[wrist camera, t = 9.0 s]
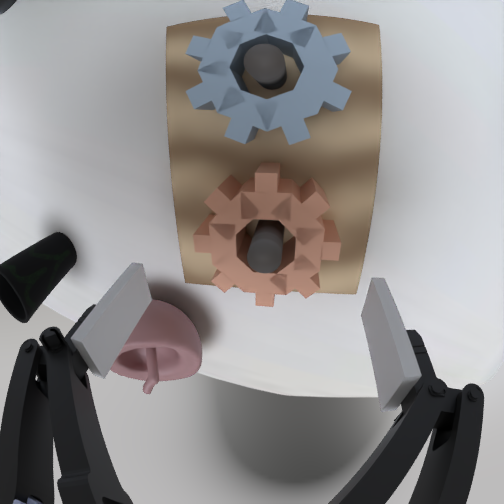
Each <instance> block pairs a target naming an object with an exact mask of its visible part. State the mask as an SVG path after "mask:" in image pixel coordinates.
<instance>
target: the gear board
mask: <svg viewBox="0 0 504 504" xmlns="http://www.w3.org/2000/svg"><path fill="white" fill-rule="evenodd" d="M228 22H230V20H229V18H228V16H227V17H219V18H211V19H204V20H198V21H192V22H187V23H182V24H177V25H173V26H168V27H167V33H166V100H167V124H168V141H169V155H170V168H171V179H172V189H173V198H174V207H175V216H176V224H177V232H178V239H179V246H180V253H181V259H182V266H183V272H184V278H185V283H192V284H203V285H214V286H216V285H215V284H214V283H212V282H211V280H212V278H213V276H214V274H215V272H216V270H217V268H216V267H215V266H214V265H212V256H211V253H199V252H195V249H194V241H193V234H194V233H195V232H196V230H197V229H198V228H199V227H200V225H201V224H202V223H203V222H204V220H205V219H206V218H207V217H208V215H209V214H214V215H215V214H216V213H215V212H214V211H213V210H212V209H210V208H209V207H208V206H207V205H206V204H205V203H204V201H205V200H206V199H207V198H208V197H209V196H210V195H211V194H212V193H213V192H214V191H215V190H216V189H217V188H218V187H219V186H220V185H221V184H222V183H223V182H224V181H225V180H226V179H227V178H228V177H229V176H230V175H232V176H233V177H234V178H235V179H236V180H237V181H238V182H239V183H240V184H241V185H243V184H244V183H245V182H246V181H247V180H248V179H249V178H255V172H256V170H257V169H258V167H259V166H260V164H261V163H262V162H274V163H280V178H281V179H292V180H293V181H294V182H295V183H296V184H297V185H298V186H299V187H301V186H302V185H304V184H305V183H306V182H307V181H308V180H309V179H310V178H313V179H314V180H315V181H316V182H317V183H318V184H319V186H320V187H321V188H322V189H323V190H324V192H325V195H326V197H327V200H328V202H329V205H330V208H329V209H328V210H327V211H325V212H324V213H323V214H322V215H321V216H322V219H323V220H334V223H335V226H336V229H337V232H338V235H339V237H340V240H341V248H340V255H339V261H334V260H321V265H320V271H319V272H318V274H319V282H320V289H319V290H318V291H316V292H315V293H334V294H356V293H357V289H358V285H359V280H360V276H361V271H362V267H363V262H364V257H365V252H366V247H367V242H368V236H369V231H370V225H371V219H372V212H373V206H374V198H375V191H376V183H377V174H378V164H379V153H380V139H381V120H382V60H381V42H380V30H379V25H377V24H373V23H368V22H362V21H357V20H351V19H344V18H336V17H328V16H317V15H307V22H309V23H312V24H314V25H316V26H317V28H318V30H319V31H320V33H321V35H322V37H325V36H330V35H334V34H338V33H342V35H343V37H344V39H345V41H346V43H347V45H348V47H349V49H350V51H351V52H350V53H349V55H348V56H347V57H346V58H345V59H344V60H343V61H342V62H341V63H340V64H338V65H337V68H338V71H337V73H336V76H335V78H334V80H333V82H334V83H336V84H339V85H341V86H342V87H344V88H346V89H348V90H350V91H352V92H351V94H350V96H349V98H348V100H347V103H346V105H345V107H344V109H343V110H342V111H335V112H332V111H330V110H328V109H326V108H324V107H322V106H321V108H320V110H319V112H318V114H316V115H313V116H309V117H306V118H303V119H304V122H305V124H306V127H307V129H308V132H309V134H310V137H311V138H309V139H306V140H303V141H300V142H297V143H294V144H291V145H289V143H288V141H287V139H286V136H285V134H284V131H283V129H282V127H278V128H275V129H272V130H270V131H264V130H262V129H258V132H257V134H256V136H255V139H254V140H252V141H250V142H248V143H247V144H243V143H240V142H238V141H235V140H233V139H230V138H227V137H225V136H224V135H225V133H226V130H227V128H228V125H229V123H230V120H231V118H230V117H227V116H225V115H222V114H219V113H217V111H216V109H214V110H199V109H194V108H193V106H192V104H191V102H190V99H189V97H188V95H187V93H186V91H187V90H189V89H191V88H192V87H194V86H196V85H198V84H200V83H202V82H203V81H202V79H201V77H200V75H199V73H198V71H197V70H198V68H199V65H200V63H201V62H200V61H198V60H196V59H195V58H193V57H191V56H189V55H187V54H185V53H186V51H187V49H188V46H189V44H190V42H191V40H192V38H193V36H199V37H203V38H208V39H211V38H212V36H213V34H214V32H215V30H216V28H217V27H219V26H221V25H223V24H226V23H228ZM244 67H245V70H244V73H243V75H242V78H243V80H244V82H245V84H246V87H247V89H248V91H249V93H251V94H253V95H256V96H259V97H261V98H264V99H270V98H272V97H275V96H278V95H280V94H283V93H286V92H289V91H292V90H294V88H295V86H296V84H297V81H298V79H299V77H300V75H301V74H300V71H299V69H298V67H297V65H296V63H295V61H294V59H293V58H292V57H290V56H287V55H284V54H283V53H282V52H281V50H280V49H279V48H277V47H276V46H274V45H271V44H258V45H255V46H253V47H251V48H250V49H249V50H248V51H247V52H246V54H245V56H244ZM246 233H247V234H248V235H249V236H250V237H251V238H252V241H251V244H250V247H249V250H248V253H247V261H248V264H249V266H250V267H251V268H252V269H253V270H255V271H257V272H259V273H271V272H273V271H275V270H276V269H278V267H279V266H280V264H281V260H282V249H283V244H284V243H286V242H287V241H288V240H289V239H291V238H292V237H293V236H294V235H293V234H292V233H291V232H290V231H289V230H288V229H287V228H286V227H285V226H284V225H283V224H282V223H281V222H280V221H279V220H260V219H253V220H251V221H250V222H249V223H248V224H247V225H246ZM232 287H237V286H236V285H233V286H232ZM237 288H239V287H237ZM292 291H295V292H298V291H297V290H296V289H294V290H292Z"/></svg>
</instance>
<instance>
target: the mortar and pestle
mask: <svg viewBox="0 0 504 504" xmlns="http://www.w3.org/2000/svg"><path fill="white" fill-rule="evenodd" d="M201 362H202V345H201V340H200V337H199V334H198V332H197V329H196V328H195V326H194V324H193V323H192V321H191V320H190V319H189V318H188V316H187V315H186V314H184V313H183V312H182V311H181V310H180V309H178V308H177V307H175V306H173V305H171V304H169V303H167V302H164V301H160V300H154V299H152V301H151V302H150V304H149V305H148V307H147V309H146V310H145V312H144V313H143V315H142V317H141V318H140V320H139V321H138V323H137V325H136V326H135V328H134V329H133V331H132V333H131V334H130V336H129V338H128V339H127V341H126V343H125V344H124V346H123V348H122V349H121V351H120V353H119V354H118V356H117V358H116V360H115V361H114V363H113V365H112V367H111V368H110V370H111V371H113V372H115V373H117V374H119V375H121V376H126V377H129V378H133V379H138V380H144V381H146V382H145V384H144V385H143V392H144V393H146V394H150V393H151V391H152V389H153V387H154V385H155V384H157V383H158V382H159V381H168V380H176V379H182V378H186V377H190V376H192V375H194V374H195V373H196V372H197V371H198V370H199V369H200V366H201Z"/></svg>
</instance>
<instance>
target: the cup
mask: <svg viewBox="0 0 504 504" xmlns="http://www.w3.org/2000/svg"><path fill="white" fill-rule="evenodd" d="M76 260H77V255H76V251H75V248H74V246H73V244H72V242H71V241H70V239H69V238H68V237H67V236H66V235H64V234H63V233H61V232H56V233H54V234H52V235H50V236H48V237H46V238H44V239H42V240H41V241H39V242H37V243H35V244H34V245H32V246H30V247H28V248H27V249H25V250H23V251H21V252H20V253H18V254H16V255H15V256H13V257H11V258H10V259H8V260H7V261H5V262H3V263H2V264H0V300H1V302H2V304H3V305H4V307H5V308H6V309H7V310H8V312H9V313H10V314H11V315H12V316H13V317H14V318H16V319H17V320H18V321H20V322H22V323H27V322H28V321H29V319H30V318H31V316H32V315H33V314H34V312H35V311H36V310H37V309H38V307H39V306H40V305H41V304H42V302H43V301H44V300H45V299H46V297H47V296H48V295H49V294H50V292H51V291H52V290H53V289H54V288H55V286H56V285H57V284H58V283H59V282H60V281H61V279H62V278H63V277H64V276H65V275H66V274H67V273H68V271H69V270H70V269H71V268H72V267H73V266H74V265H75V263H76Z"/></svg>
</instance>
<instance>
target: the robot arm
mask: <svg viewBox="0 0 504 504" xmlns="http://www.w3.org/2000/svg"><path fill="white" fill-rule="evenodd" d="M15 1H16V0H0V14H2V13H3V12H5V11H6V10H7V9H8V8H9V7H10V6H11V5H12V4H13V3H14V2H15ZM151 301H152V298H151V294H150V290H149V287H148V283H147V279H146V275H145V271H144V267H143V264H140V263H132V264H131V265H130V266H129V267H128V268H127V269H126V270H125V272H124V273H123V274H122V275H121V276H120V277H119V278H118V280H117V281H116V282H115V283H114V284H113V285H112V287H111V288H110V289H109V290H108V291H107V293H106V294H105V295H104V296H103V297H102V299H101V300H100V301H99V302H98V304H97V305H95V304H94V305H92V306H91V307H89V308H88V309H87V310H86V311H85V312H84V313H83V315H82V317H80V318H79V320H78V322H76V323H75V325H74V326H73V327H72V329H71V330H70V331H69V332H68V334H67V335H66V336H65V338H64V336H63V335H62V333H61V331H60V329H59V328H57V327H49V328H47V329H46V330H44V331H43V332H42V333H41V335H40V338H39V340H40V341H41V343H42V345H43V346H40V345H39V344H38V342H37V341H36V340H35V339H28V340H26V341H25V342H24V343H23V344H22V345H21V347H20V350H19V353H18V356H17V359H16V363H15V366H14V370H13V373H12V376H11V380H10V384H9V388H8V392H7V397H6V402H5V407H4V412H3V418H2V424H1V431H0V504H54V479H53V437H54V442H55V448H56V452H57V457H58V461H59V466H60V470H61V474H62V476H61V478H60V479H58V482H57V484H58V490H59V493H60V496H61V499H62V503H63V504H133V502H132V500H131V499H130V497H129V496H128V494H127V493H126V492H125V491H124V490H123V488H122V487H121V485H120V482H119V480H118V477H117V475H116V472H115V470H114V467H113V465H112V462H111V459H110V456H109V454H108V451H107V448H106V445H105V441H104V438H103V435H102V432H101V428H100V425H99V421H98V417H97V414H96V410H95V406H94V402H93V397H92V392H91V388H90V383H89V378H88V375H87V373H86V371H87V370H88V368H89V369H90V371H91V372H92V374H93V375H95V376H98V377H101V378H103V379H104V378H105V377H106V375H107V374H108V372H109V370H110V368H111V367H112V365H113V363H114V361H115V360H116V358H117V356H118V354H119V353H120V351H121V349H122V348H123V346H124V344H125V343H126V341H127V339H128V338H129V336H130V334H131V333H132V331H133V329H134V328H135V326H136V325H137V323H138V321H139V320H140V318H141V317H142V315H143V313H144V312H145V310H146V309H147V307H148V305H149V304H150V302H151ZM361 317H362V321H363V325H364V329H365V333H366V338H367V342H368V346H369V351H370V355H371V360H372V365H373V370H374V375H375V380H376V385H377V391H378V397H379V403H380V409H381V412H383V411H392V410H396V409H397V408H398V407H399V406H400V404H401V406H402V412H401V413H400V414H399V415H398V416H397V418H396V419H395V420H394V421H395V422H394V424H393V425H392V427H391V428H390V430H389V431H388V433H387V434H386V436H385V437H384V438H383V440H382V441H381V443H380V444H379V446H378V447H377V448H376V449H375V451H374V452H373V453H372V455H371V456H370V457H369V459H368V460H367V461H366V462H365V463H364V465H363V466H362V467H361V468H360V470H359V471H358V472H357V473H356V474H355V475H354V477H353V478H352V479H351V480H350V481H349V482H348V483H347V485H346V486H345V487H344V488H343V489H342V490H341V491H340V492H339V493H338V494H337V495H336V496H335V497H334V498H333V499H332V501H330V502H329V503H328V504H385V503H386V502H387V501H388V499H389V498H390V497H391V495H392V494H393V493H394V491H395V490H396V489H397V487H398V486H399V484H400V483H401V482H402V480H403V479H404V477H405V476H406V474H407V473H408V471H409V469H410V468H411V466H412V465H413V463H414V461H415V459H416V458H417V456H418V455H419V453H420V451H421V450H422V448H423V446H424V444H425V442H426V441H427V439H428V437H429V435H430V433H431V431H432V429H433V431H432V435H431V439H430V443H429V447H428V450H427V454H426V457H425V461H424V464H423V467H422V470H421V473H420V475H419V479H418V481H417V484H416V486H415V489H414V492H413V494H412V497H411V499H410V501H409V504H466V502H467V499H468V495H469V492H470V488H471V485H472V481H473V476H474V472H475V468H476V463H477V457H478V451H479V446H480V439H481V431H482V421H483V408H484V394H483V391H482V389H481V388H480V387H479V386H478V385H476V384H468V385H466V386H465V387H464V388H463V389H462V390H459V389H453V388H448V387H447V385H446V384H445V382H443V381H442V380H441V379H438V378H437V377H436V375H435V372H434V369H433V366H432V363H431V361H430V358H429V355H428V353H427V350H426V347H424V346H425V345H424V342H423V340H422V337H421V336H420V335H419V334H418V333H417V332H416V330H406V329H405V326H404V324H403V321H402V319H401V316H400V314H399V311H398V309H397V306H396V304H395V302H394V299H393V297H392V295H391V292H390V290H389V288H388V285H387V283H386V281H385V279H384V278H371V282H370V286H369V290H368V293H367V297H366V300H365V304H364V307H363V311H362V314H361ZM36 375H37V377H38V379H37V381H36V380H35V378H36Z"/></svg>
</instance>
